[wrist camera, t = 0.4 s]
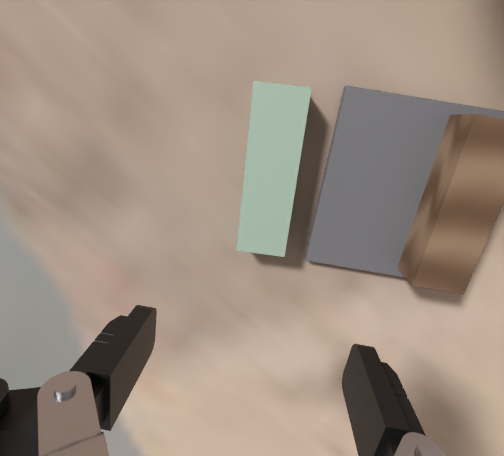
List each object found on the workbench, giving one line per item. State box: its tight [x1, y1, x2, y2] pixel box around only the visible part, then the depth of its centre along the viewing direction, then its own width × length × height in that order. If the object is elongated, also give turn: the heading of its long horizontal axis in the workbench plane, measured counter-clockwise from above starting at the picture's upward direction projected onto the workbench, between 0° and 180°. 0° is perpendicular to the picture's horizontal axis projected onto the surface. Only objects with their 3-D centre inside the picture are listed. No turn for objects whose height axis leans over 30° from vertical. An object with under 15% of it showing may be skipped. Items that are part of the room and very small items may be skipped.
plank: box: [236, 81, 312, 257], centre depth 31 cm, size 16×5×4 cm, turn 174°
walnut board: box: [398, 114, 504, 295], centre depth 30 cm, size 16×5×4 cm, turn 171°
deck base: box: [305, 86, 504, 278], centre depth 32 cm, size 18×15×1 cm
